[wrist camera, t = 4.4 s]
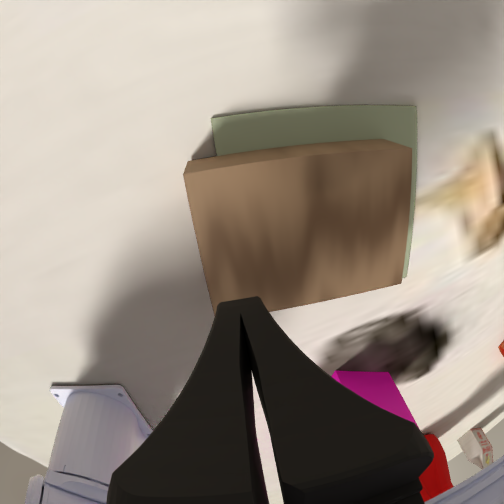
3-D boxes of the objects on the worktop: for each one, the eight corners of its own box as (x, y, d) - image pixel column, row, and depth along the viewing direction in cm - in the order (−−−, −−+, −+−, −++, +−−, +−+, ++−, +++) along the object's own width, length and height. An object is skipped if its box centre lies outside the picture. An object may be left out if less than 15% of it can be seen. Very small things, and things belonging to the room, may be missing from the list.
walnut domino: (214, 289, 19) (379, 259, 20) (216, 320, 17) (401, 283, 17) (187, 161, 16) (383, 138, 16) (183, 174, 13) (412, 148, 14)
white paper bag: (468, 438, 47) (486, 470, 38) (457, 440, 45) (475, 475, 36) (480, 427, 46) (499, 459, 37) (470, 429, 43) (490, 464, 35)
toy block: (334, 368, 25) (363, 439, 19) (387, 370, 27) (419, 430, 20) (274, 449, 31) (285, 504, 25) (320, 448, 33) (335, 498, 26)
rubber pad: (404, 275, 21) (406, 277, 21) (242, 309, 21) (242, 311, 20) (414, 106, 16) (416, 106, 15) (210, 118, 15) (210, 118, 15)
